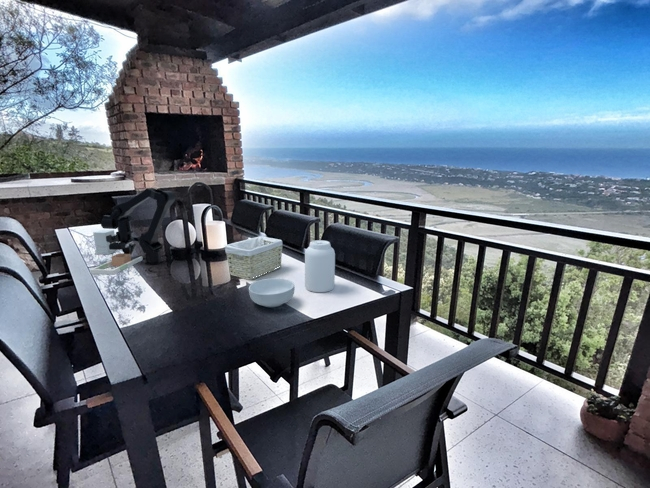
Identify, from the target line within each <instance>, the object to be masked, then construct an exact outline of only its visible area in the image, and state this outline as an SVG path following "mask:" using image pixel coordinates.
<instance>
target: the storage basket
mask: <svg viewBox="0 0 650 488" xmlns="http://www.w3.org/2000/svg"><path fill="white" fill-rule="evenodd" d="M266 243H267V244H266ZM224 248H225V250H224V251H225V254H226V259H227V264H228V269H229V275H231V276H234V277H237V278H242V279H244V280H245V279H246V280H250V281H253V280H255V279H257V278H260V277H262V276H265V275H267V274H270V273H272V272H273V271H277V270H279V269H281V268H282V257H283V256H282V253H283V240H282V239H278V238H273V237H267V236H262V235H259V236H255V237H251V238H248V239H243V240H240V241H237V242H232V243H229V244H226V245H224ZM279 266H281V267H279ZM277 267H279V268H277ZM275 268H277V269H275ZM274 269H275V270H274ZM269 271H270V272H269ZM266 272H268V273H266ZM264 273H265V274H264ZM261 274H262V275H261ZM259 275H260V276H259ZM256 276H257V277H256ZM253 277H254V278H253Z"/></svg>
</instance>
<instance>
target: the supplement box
mask: <svg viewBox="0 0 650 488" xmlns="http://www.w3.org/2000/svg"><path fill="white" fill-rule="evenodd" d="M92 234H93V238H94V240H93V241H94V245H95V246H94V247H95V252H96V255H110V254H114V253H116V252H118V250H110V249H109V245H110V243H109V242H107V241H106V236H108V235H111V236H114V235H116V232H115V229H100V230H97V231H93V232H92ZM112 243H114V242H112Z"/></svg>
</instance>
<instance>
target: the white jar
mask: <svg viewBox="0 0 650 488" xmlns="http://www.w3.org/2000/svg"><path fill="white" fill-rule="evenodd" d="M335 271H336V253H335V249H334V248H333V247H332V246H331V242H330V241H328V240H323V239H322V240H321V239H319V240H318V239H317V240H312V241H310V242H309V246H308V247H307V248H306V249H305V252H304V287H305V289H306V290H307V291H310V292H313V293H327V292H330V291H332V290H334V288H335V277H336V276H335V273H336V272H335Z"/></svg>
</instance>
